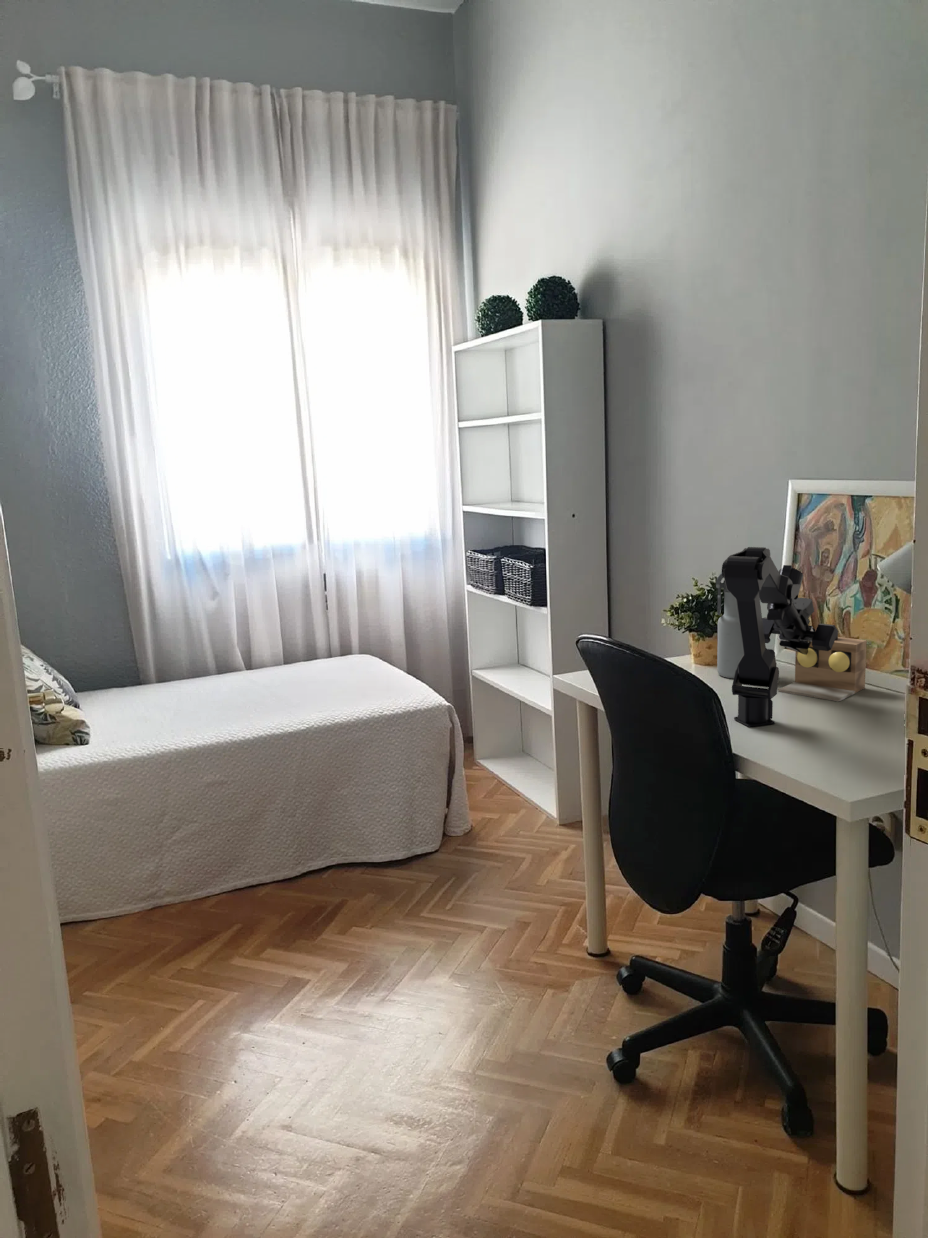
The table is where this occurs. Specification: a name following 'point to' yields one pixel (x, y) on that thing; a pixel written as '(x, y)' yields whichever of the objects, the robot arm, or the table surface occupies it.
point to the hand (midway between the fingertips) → (805, 653)
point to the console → (831, 673)
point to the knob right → (840, 661)
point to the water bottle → (728, 633)
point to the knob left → (809, 657)
